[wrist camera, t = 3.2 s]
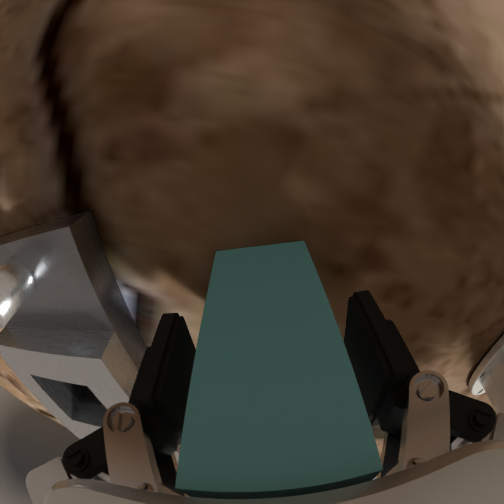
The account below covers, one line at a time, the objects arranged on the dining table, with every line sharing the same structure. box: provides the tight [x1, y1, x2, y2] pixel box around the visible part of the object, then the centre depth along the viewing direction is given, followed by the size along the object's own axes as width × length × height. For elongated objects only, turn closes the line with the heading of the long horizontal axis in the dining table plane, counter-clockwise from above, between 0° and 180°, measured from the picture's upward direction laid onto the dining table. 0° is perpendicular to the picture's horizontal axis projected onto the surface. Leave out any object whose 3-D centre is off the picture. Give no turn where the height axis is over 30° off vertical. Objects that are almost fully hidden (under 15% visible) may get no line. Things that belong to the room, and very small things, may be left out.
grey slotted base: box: [0, 210, 180, 463], centre depth 14 cm, size 11×22×5 cm, turn 7°
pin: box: [175, 241, 383, 499], centre depth 9 cm, size 4×4×10 cm
